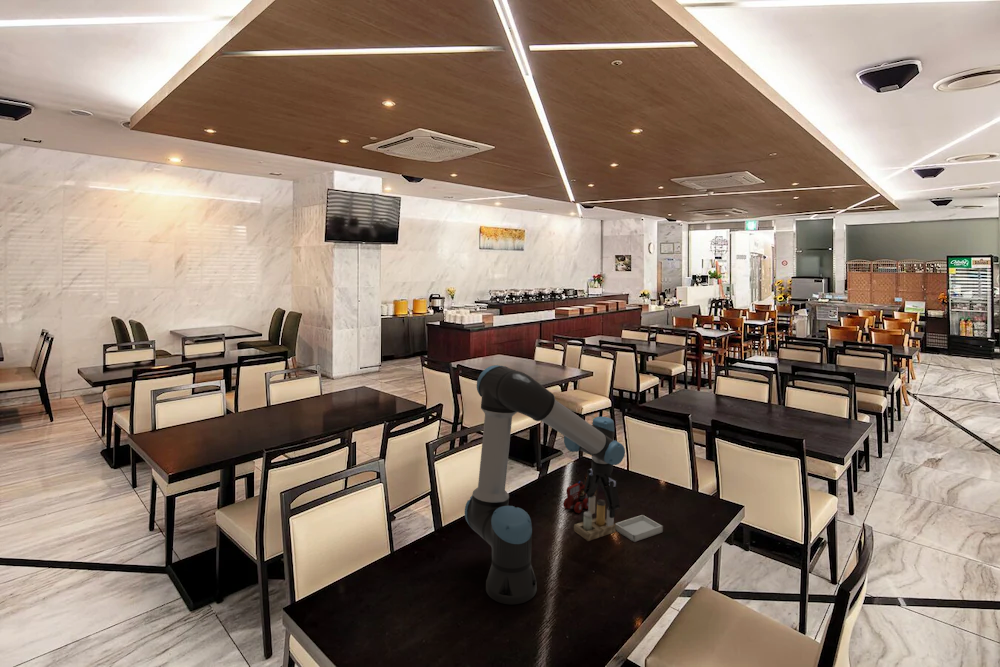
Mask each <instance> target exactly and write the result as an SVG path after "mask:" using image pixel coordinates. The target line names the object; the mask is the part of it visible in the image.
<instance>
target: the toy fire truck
mask: <svg viewBox="0 0 1000 667" xmlns="http://www.w3.org/2000/svg"><path fill="white" fill-rule="evenodd" d="M584 488H585V484H584V482H583V481H582V480H579V481H578V482H576V483H573V484H572V485H570V486H568V487H567V488H566V495H567V496H566V498H565V499H564V501H563V507H564V509H567V510H572V509H573V510H574V512H575V513H576V514H581V512H583V509H585V510H588V496H587V494H586V493H584Z"/></svg>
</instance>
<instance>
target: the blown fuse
mask: <svg viewBox="0 0 1000 667" xmlns="http://www.w3.org/2000/svg"><path fill="white" fill-rule="evenodd" d="M595 518H596V525H598V526H599V527H602V526H605V520H606V500H605V499H597V500H596V517H595Z"/></svg>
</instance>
